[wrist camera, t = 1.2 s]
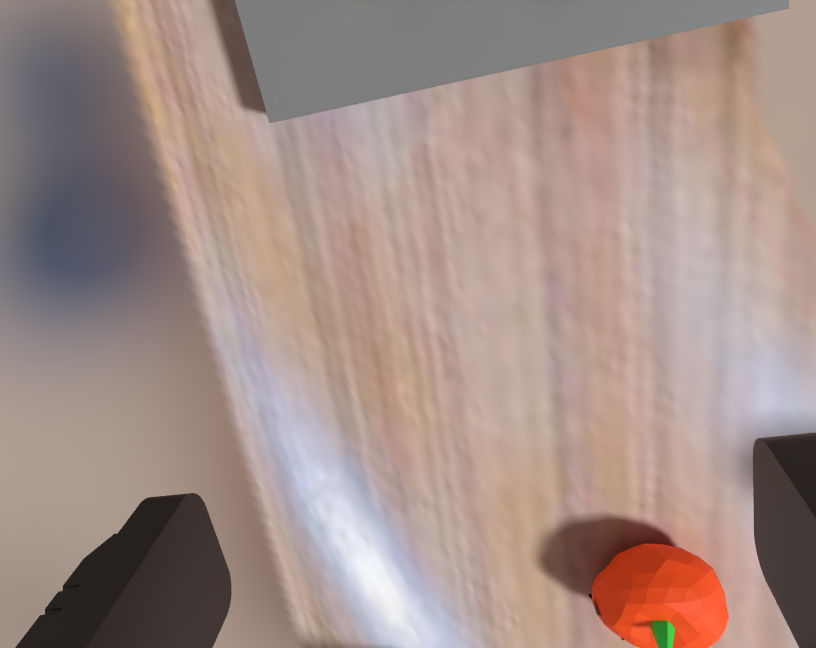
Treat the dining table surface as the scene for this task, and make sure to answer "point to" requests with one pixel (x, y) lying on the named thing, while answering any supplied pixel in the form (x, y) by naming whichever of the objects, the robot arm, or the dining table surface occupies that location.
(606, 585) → the pumpkin
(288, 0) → the control board
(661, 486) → the dining table surface
